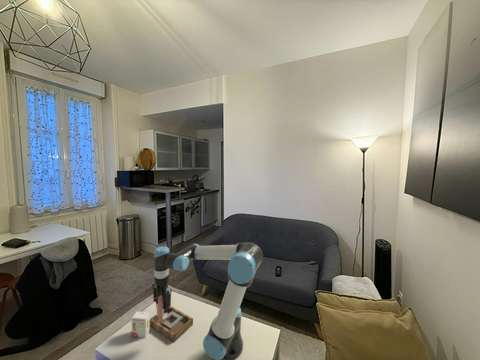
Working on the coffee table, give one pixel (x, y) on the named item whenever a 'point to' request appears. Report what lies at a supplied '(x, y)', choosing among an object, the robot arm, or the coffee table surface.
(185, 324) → the tray
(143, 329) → the ink box
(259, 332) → the coffee table surface
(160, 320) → the peg
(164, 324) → the socket
